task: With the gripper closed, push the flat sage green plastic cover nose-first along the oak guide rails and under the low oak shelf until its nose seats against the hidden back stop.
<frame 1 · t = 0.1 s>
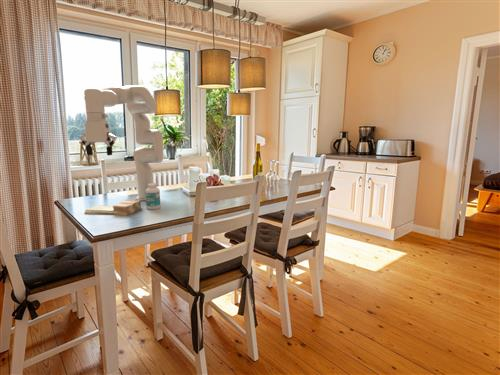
hand: (99, 155, 142), 31 cm above the table, tool pointing down, fingers open, 9 cm apart
cover: (104, 211, 165), on the table
overhang cubby: (127, 211, 163), on the table
pill bottle: (153, 208, 169), on the table
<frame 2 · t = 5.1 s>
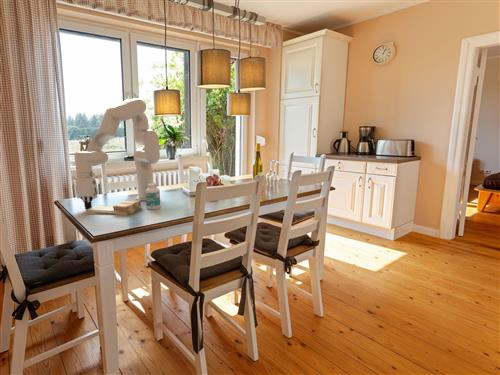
hand: (88, 208, 165), 1 cm above the table, tool pointing down, fingers closed
cover: (104, 211, 165), on the table, touching gripper
everything else where it was.
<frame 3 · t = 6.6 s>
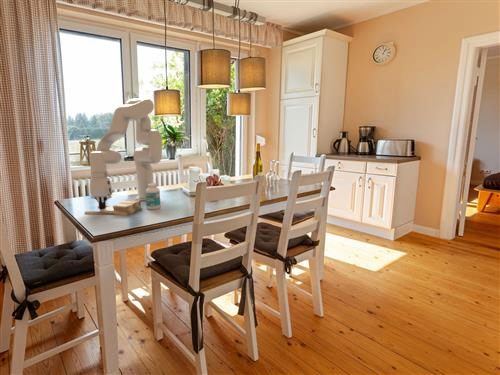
hand: (102, 209, 164), 1 cm above the table, tool pointing down, fingers closed
cover: (118, 212, 163), on the table, touching gripper
everything else where it was.
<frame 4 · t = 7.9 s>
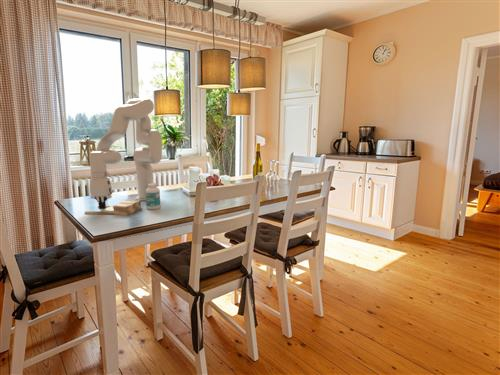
hand: (102, 208, 164), 1 cm above the table, tool pointing down, fingers closed
cover: (119, 212, 163), on the table
everything else where it was.
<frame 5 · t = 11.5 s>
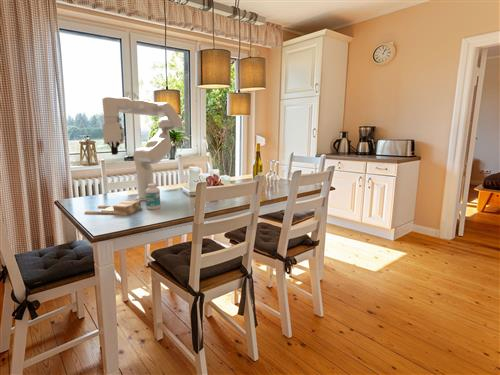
hand: (114, 154, 170), 29 cm above the table, tool pointing down, fingers closed
nothing on the table moved.
at the end: cover 0.4 cm from the target spot, on the table; cover tilted 0°; the gripper is holding nothing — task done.
